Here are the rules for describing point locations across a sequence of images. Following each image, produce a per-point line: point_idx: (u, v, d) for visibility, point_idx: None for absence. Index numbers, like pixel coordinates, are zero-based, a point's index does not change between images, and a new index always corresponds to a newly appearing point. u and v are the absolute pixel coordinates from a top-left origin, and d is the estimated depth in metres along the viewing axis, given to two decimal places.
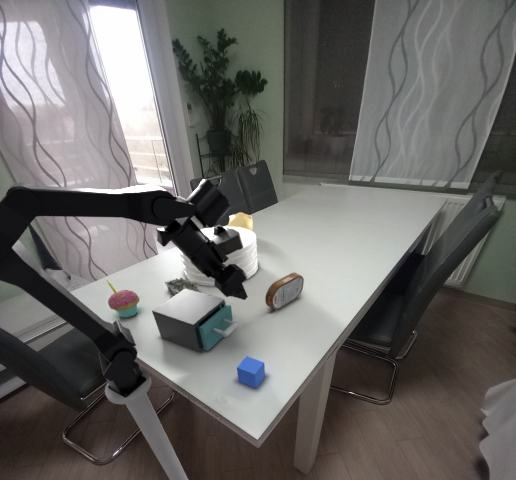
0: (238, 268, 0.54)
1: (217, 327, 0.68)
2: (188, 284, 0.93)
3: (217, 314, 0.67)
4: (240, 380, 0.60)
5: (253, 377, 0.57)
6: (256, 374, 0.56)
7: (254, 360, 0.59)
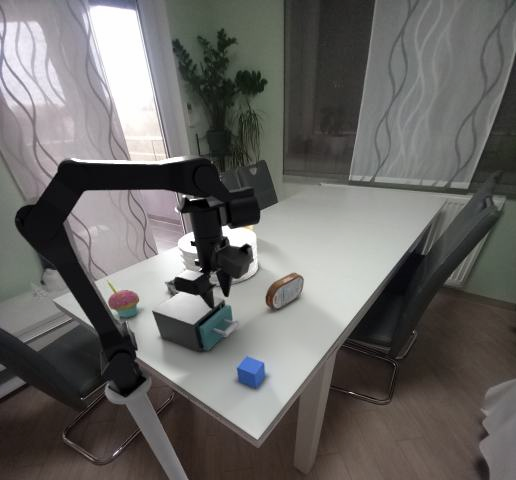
0: (198, 282, 0.51)
1: (217, 327, 0.68)
2: None
3: (217, 314, 0.67)
4: (240, 380, 0.60)
5: (253, 377, 0.57)
6: (256, 374, 0.56)
7: (254, 360, 0.59)
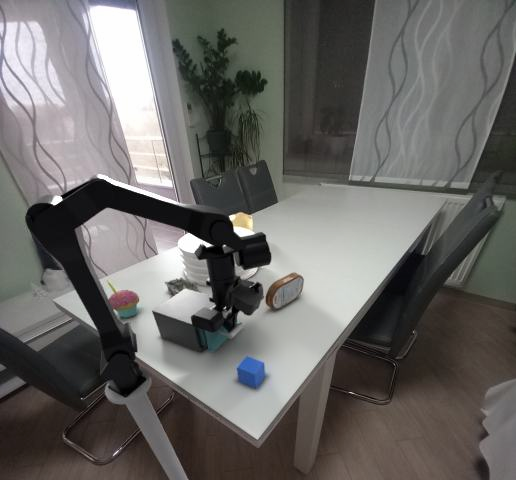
0: (214, 320, 0.55)
1: (222, 328, 0.67)
2: (188, 284, 0.93)
3: None
4: (240, 380, 0.60)
5: (253, 377, 0.57)
6: (256, 374, 0.56)
7: (254, 360, 0.59)
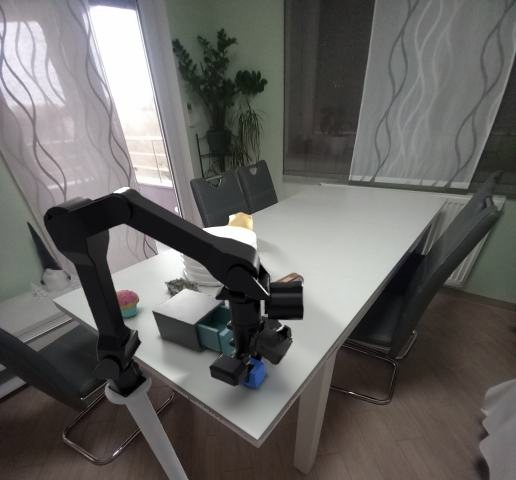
0: (237, 373, 0.47)
1: None
2: (188, 284, 0.93)
3: None
4: None
5: (253, 377, 0.57)
6: (256, 374, 0.56)
7: (254, 360, 0.59)
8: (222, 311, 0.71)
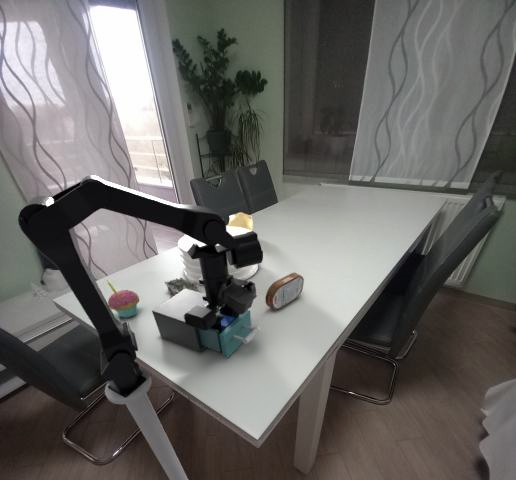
0: (206, 318, 0.56)
1: (237, 333, 0.65)
2: (188, 284, 0.93)
3: (237, 320, 0.65)
4: None
5: None
6: None
7: (226, 316, 0.67)
8: None
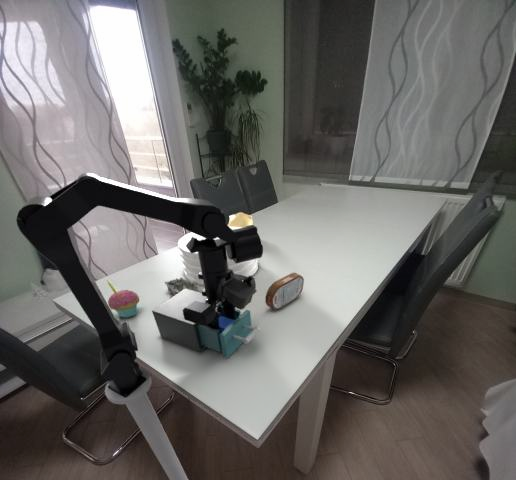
0: (205, 313, 0.55)
1: (237, 333, 0.65)
2: (188, 284, 0.93)
3: (237, 320, 0.65)
4: None
5: None
6: None
7: (227, 319, 0.68)
8: (222, 311, 0.71)
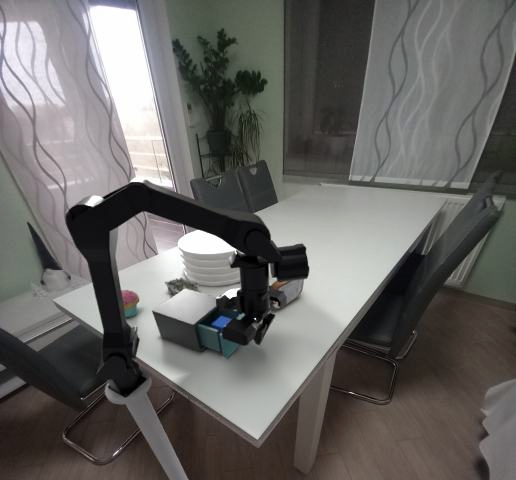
0: None
1: None
2: (188, 284, 0.93)
3: None
4: None
5: None
6: None
7: (227, 319, 0.68)
8: (222, 311, 0.71)
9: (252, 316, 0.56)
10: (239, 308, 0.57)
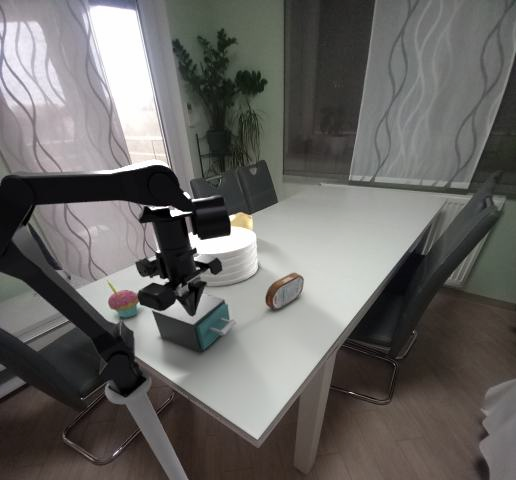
0: None
1: (214, 326, 0.68)
2: None
3: (214, 313, 0.68)
4: None
5: None
6: None
7: None
8: None
9: (174, 281, 0.51)
10: (161, 272, 0.52)
